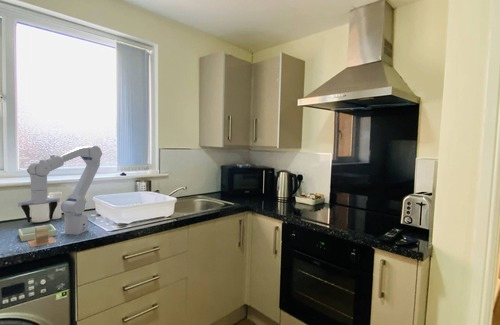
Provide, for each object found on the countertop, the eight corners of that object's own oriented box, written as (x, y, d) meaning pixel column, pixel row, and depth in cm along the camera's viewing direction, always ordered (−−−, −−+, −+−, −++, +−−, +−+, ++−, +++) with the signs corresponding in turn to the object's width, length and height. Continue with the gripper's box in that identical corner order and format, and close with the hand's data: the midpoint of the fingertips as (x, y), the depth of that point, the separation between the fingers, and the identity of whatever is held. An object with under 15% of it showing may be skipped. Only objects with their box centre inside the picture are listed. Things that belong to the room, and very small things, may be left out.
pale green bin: (56, 236, 128) (56, 229, 128) (21, 242, 119) (21, 235, 119) (51, 230, 137) (51, 224, 137) (18, 235, 128) (18, 229, 128)
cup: (45, 219, 156) (44, 194, 155) (54, 221, 152) (53, 196, 151) (27, 223, 148) (27, 197, 147) (36, 225, 145) (35, 198, 144)
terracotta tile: (56, 242, 120) (56, 241, 120) (30, 248, 113) (30, 246, 113) (52, 237, 126) (52, 236, 126) (27, 242, 120) (27, 241, 120)
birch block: (48, 241, 120) (48, 227, 120) (37, 243, 117) (36, 229, 117) (46, 239, 123) (46, 226, 122) (35, 241, 120) (35, 227, 120)
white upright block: (60, 216, 164) (60, 191, 163) (64, 218, 160) (64, 192, 159) (47, 218, 159) (46, 192, 158) (50, 220, 154) (50, 194, 154)
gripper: (57, 187, 128) (57, 215, 129) (16, 190, 117) (17, 221, 118) (60, 189, 123) (61, 218, 124) (18, 192, 113) (19, 225, 113)
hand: (40, 220), depth 121 cm, fingers open, 7 cm apart
